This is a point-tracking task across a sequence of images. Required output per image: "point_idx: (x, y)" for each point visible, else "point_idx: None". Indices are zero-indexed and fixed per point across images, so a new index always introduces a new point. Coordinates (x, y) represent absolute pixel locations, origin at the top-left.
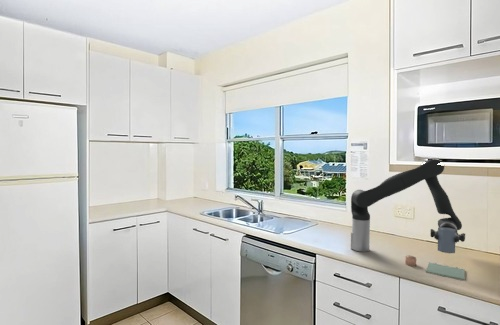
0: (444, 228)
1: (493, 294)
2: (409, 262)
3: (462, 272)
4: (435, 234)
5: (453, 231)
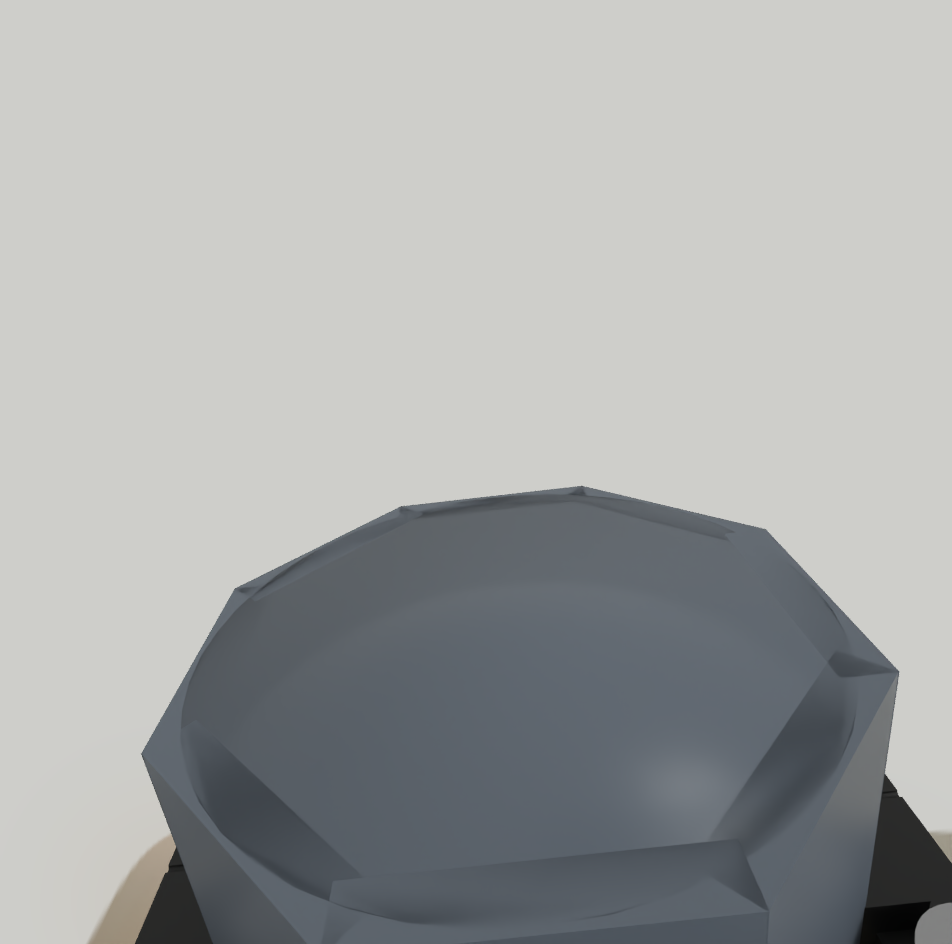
0: (601, 650)
1: (145, 861)
2: None
3: None
4: (902, 836)
5: (304, 570)
